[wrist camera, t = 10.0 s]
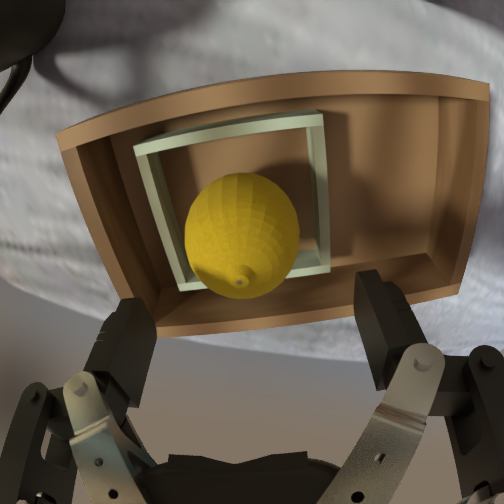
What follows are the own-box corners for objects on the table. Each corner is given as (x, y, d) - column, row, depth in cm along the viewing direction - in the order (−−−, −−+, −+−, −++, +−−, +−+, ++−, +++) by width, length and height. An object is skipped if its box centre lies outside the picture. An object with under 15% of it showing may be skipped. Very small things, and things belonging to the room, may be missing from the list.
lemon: (278, 145, 17) (298, 201, 10) (297, 228, 20) (319, 318, 13) (185, 169, 18) (145, 238, 11) (213, 247, 21) (197, 340, 14)
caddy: (441, 74, 15) (489, 83, 11) (429, 254, 22) (457, 294, 18) (96, 115, 16) (55, 133, 12) (156, 291, 24) (141, 338, 20)
